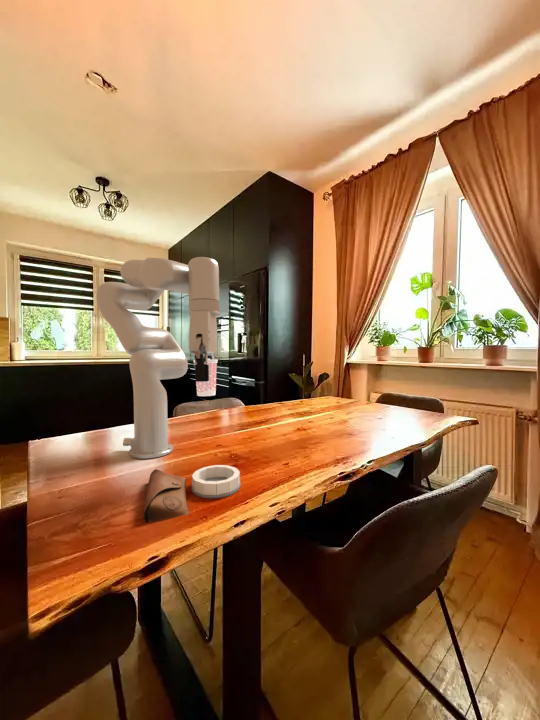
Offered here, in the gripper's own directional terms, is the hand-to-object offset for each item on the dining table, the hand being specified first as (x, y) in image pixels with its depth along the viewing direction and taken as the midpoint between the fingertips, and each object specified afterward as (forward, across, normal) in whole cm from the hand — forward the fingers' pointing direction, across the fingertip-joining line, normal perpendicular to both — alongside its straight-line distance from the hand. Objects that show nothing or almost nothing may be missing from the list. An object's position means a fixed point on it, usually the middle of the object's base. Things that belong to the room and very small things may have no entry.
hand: (206, 379), depth 76 cm
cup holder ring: (+24, +8, +4) cm, 25 cm away
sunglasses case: (+25, +13, -5) cm, 28 cm away
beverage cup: (+4, 0, 0) cm, 4 cm away
